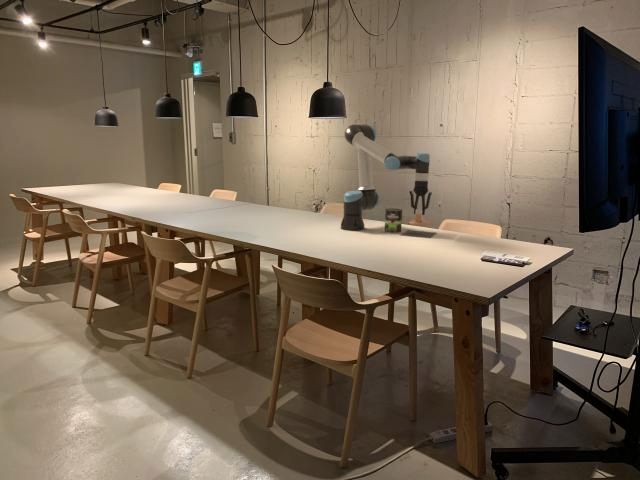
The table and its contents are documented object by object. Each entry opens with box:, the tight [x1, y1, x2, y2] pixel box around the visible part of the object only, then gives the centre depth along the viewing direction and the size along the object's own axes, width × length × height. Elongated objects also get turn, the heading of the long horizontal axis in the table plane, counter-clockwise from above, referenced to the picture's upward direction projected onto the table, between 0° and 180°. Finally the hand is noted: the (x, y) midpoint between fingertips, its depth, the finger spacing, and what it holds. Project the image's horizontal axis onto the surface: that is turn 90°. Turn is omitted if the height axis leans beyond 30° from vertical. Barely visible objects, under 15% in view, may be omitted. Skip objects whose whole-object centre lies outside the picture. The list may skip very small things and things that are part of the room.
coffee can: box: [384, 208, 403, 234], centre depth 289 cm, size 10×10×14 cm
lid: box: [407, 211, 431, 226], centre depth 282 cm, size 13×13×6 cm
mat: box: [400, 229, 437, 239], centre depth 284 cm, size 18×18×1 cm
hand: (418, 219), depth 282 cm, fingers closed on lid, 2 cm apart
